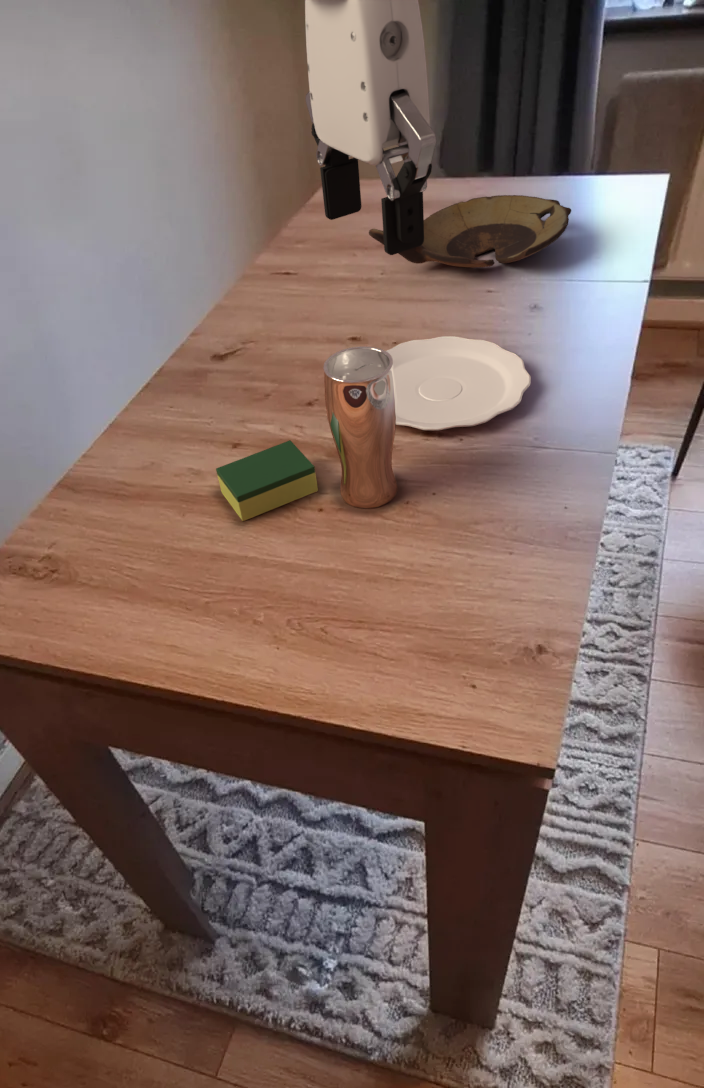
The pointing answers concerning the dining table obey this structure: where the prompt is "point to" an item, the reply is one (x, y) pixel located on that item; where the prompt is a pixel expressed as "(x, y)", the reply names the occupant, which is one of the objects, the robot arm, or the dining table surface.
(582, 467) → the dining table surface
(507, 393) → the plate
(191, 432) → the dining table surface
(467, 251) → the broken bowl
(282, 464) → the sponge
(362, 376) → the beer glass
